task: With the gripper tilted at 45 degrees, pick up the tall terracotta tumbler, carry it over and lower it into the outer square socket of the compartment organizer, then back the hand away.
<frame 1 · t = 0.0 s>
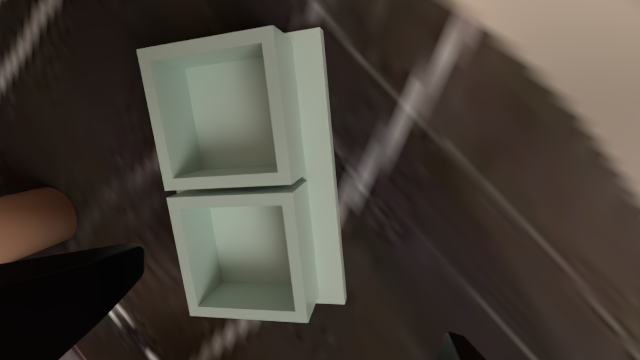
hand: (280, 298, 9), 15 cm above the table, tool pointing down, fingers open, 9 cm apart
compartment organizer: (254, 179, 24), on the table
tumbler: (53, 214, 30), on the table
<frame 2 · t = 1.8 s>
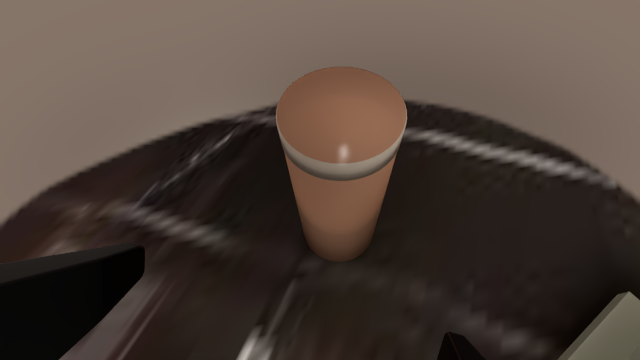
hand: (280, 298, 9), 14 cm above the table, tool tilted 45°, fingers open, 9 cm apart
tumbler: (338, 227, 24), on the table
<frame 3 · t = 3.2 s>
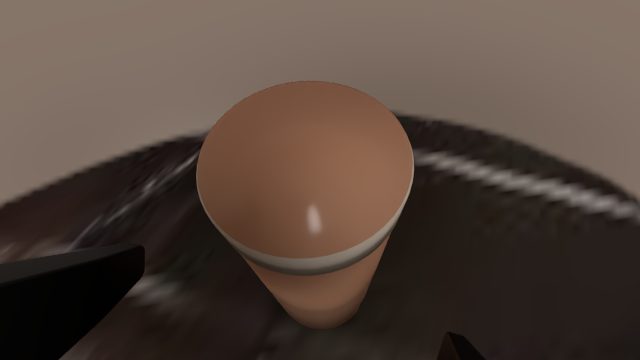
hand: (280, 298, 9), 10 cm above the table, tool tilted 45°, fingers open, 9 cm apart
tumbler: (321, 280, 19), on the table
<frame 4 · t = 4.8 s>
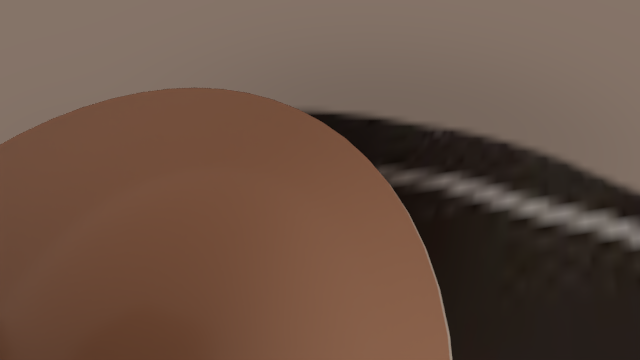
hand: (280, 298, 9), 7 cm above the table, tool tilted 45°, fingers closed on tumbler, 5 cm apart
tumbler: (292, 359, 14), on the table, touching gripper
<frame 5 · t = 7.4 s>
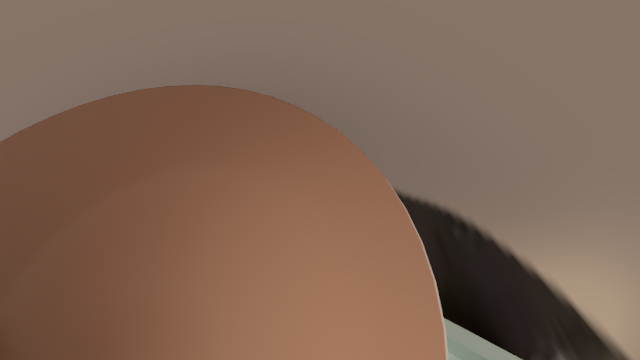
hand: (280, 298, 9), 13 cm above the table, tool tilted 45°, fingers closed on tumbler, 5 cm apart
tumbler: (292, 357, 14), point 7 cm above the table, touching gripper
when the fingers open (9 cm above the table, at t = 9.8 s): tumbler drops 1 cm, resting on compartment organizer.
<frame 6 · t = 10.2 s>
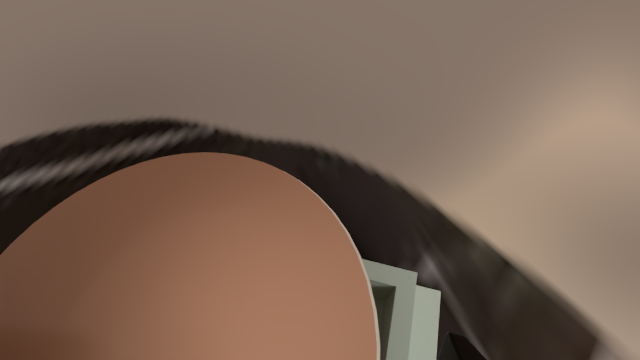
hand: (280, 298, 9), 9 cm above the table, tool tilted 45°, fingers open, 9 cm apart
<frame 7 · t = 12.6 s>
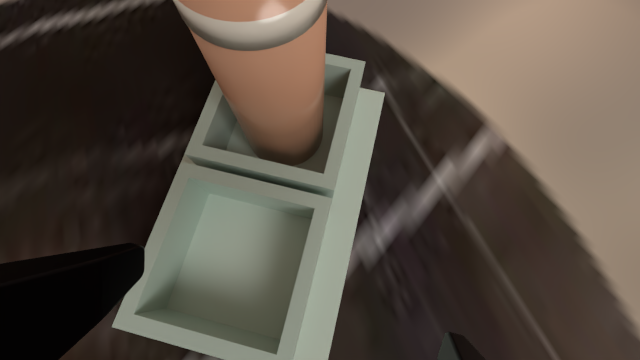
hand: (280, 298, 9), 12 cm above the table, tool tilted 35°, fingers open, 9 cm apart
compartment organizer: (267, 198, 22), on the table
tumbler: (285, 131, 22), point 1 cm above the table, touching compartment organizer
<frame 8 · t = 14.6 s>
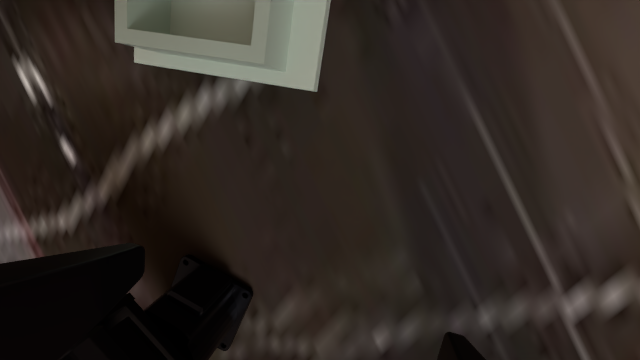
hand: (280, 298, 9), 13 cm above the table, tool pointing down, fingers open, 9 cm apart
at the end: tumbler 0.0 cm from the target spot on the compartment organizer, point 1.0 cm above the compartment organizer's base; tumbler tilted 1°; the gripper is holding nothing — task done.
